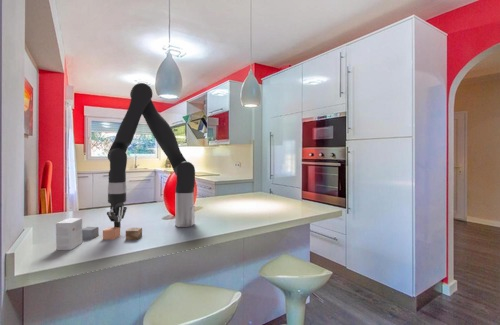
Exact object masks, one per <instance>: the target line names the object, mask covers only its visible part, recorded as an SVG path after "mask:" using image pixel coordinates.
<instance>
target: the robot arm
mask: <svg viewBox="0 0 500 325" xmlns="http://www.w3.org/2000/svg"><path fill="white" fill-rule="evenodd" d="M129 96H130V102H129V105H128V108H127V110H126V113H125V115H124V117H123V119H122V121H121V122H120V125H119V127H118V129H117V130H118V131H117V133H116V135H115V138H114V140H113V142H112V144H111V146H110V148H109V149H108V153H107V159H108V160H109V171H108V184H107V203H108V204H110V207H109V208H110V210H109V211H107V212H106V215H107V217H108V218H109V220H110V222H113V227H120V229H121V228H122V227H121V221H122V220H123V219H124V218H125V214H126V212H127V209H128V207H127V206H125V203H126V202H127V182H126V181H127V178H126V174H127V173H126V170H127V164H128V156H127V150H128V148H129V146H130V145H131V144H132V142H133V140H134V137H135V135H136V131H137V129H138V126H139V123H140V121H141V117H142V116H143V119H144V120H145V122H146V125H147V127H148V128H149V130H150V132H151V134H152V136H153V138H154V139H155V141H156V142H157V144H158V145H159V147H160V148H161V151H162V152H163V153H164V155H166V157H167V159H168V161H169V163H170V166H171V167H172V169H173V173H174V175H176V185H175V189H174V190H175V191H174V192H175V194H174V195H175V200H174V201H175V202H174V203H175V204H174V205H175V206H174V208H175V209H174V210H175V213H174V214H175V216H174V218H175V219H174V220H175V221H174V222H175V226H176V227H177V228H189V227H193V226H194V225H195V221H196V220H195V218H196V215H195V210H196V208H195V207H196V206H195V205H194V197H195V196H194V189H195V186H196V185H195V184H196V182H195V181H196V169H195V165H194V164H192V162H190V161H187V159H186V158H185V157H184V155H183V153H182V151H181V150H180V147H179V144H178V140H177V138H176V135H175V133H174V132H173V129H172V128H171V126H170V124H169V123H168V122H167V120H166V119H165V118H164V116H162V115H161V113H160V112H158V109H156V107H155V104H154V102H153V101H152V98H153V90H152V88H151V86H150V85H149V84H147V83H144V82H138V83H136V84H135V85H134V86H132V88H131V90H130V95H129Z"/></svg>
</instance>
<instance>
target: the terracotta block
mask: <svg viewBox="0 0 500 325" xmlns="http://www.w3.org/2000/svg"><path fill="white" fill-rule="evenodd" d="M117 237H118V238H119V237H121V228H120V227H114V226H109V227H107V228H104V229H102V240H116V239H118V238H117Z"/></svg>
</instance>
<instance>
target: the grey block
mask: <svg viewBox="0 0 500 325" xmlns="http://www.w3.org/2000/svg"><path fill="white" fill-rule="evenodd" d="M99 231H100V230H99V226H86V227H84V228H82V240H92V239H94V238H95V239H96V237H98V236H99V234H100V233H99Z"/></svg>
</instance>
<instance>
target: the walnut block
mask: <svg viewBox="0 0 500 325" xmlns="http://www.w3.org/2000/svg"><path fill="white" fill-rule="evenodd" d="M142 237H143V227H129V228H127V229H126V230H125V241H138V240H139V239H140V238H142Z"/></svg>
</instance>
